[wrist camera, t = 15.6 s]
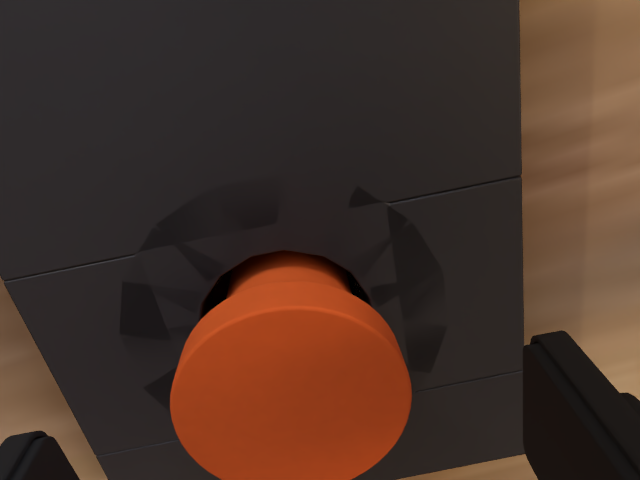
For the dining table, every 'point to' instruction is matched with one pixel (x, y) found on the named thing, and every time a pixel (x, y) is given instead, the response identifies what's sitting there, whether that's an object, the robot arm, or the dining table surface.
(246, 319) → the stopper
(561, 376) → the robot arm
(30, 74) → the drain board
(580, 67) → the dining table surface
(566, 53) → the dining table surface
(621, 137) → the dining table surface
